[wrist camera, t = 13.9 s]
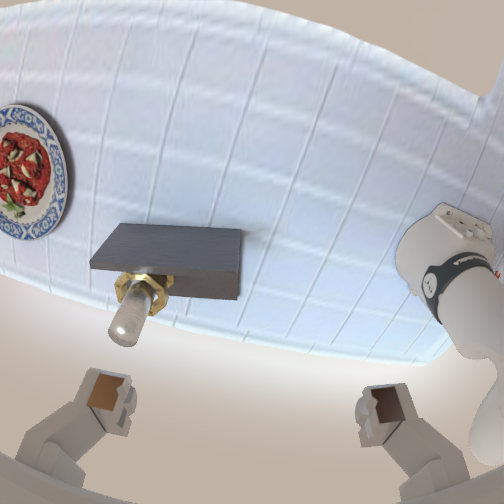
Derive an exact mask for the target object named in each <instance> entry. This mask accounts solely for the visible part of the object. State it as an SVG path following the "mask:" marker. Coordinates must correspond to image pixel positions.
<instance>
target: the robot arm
mask: <svg viewBox="0 0 504 504" xmlns="http://www.w3.org/2000/svg"><path fill="white" fill-rule="evenodd" d="M447 212H448V213H447ZM491 239H492V229H491V227H490V226H489V225H488V224H487V223H485V222H483V221H481V220H479V219H477V218H475V217H473V216H471V215H469V214H467V213H465V212H462V211H460V210H458V209H456V208H454V207H452V206H449V205H447V204H445V203H441V204H439V205H438V206H437V207H436V208H435V209H434V210H433V211H432V213H431V214H430V215H428V216H426V217H425V218H423V219H421V220H419V221H418V222H416V223H415V224H414V225H412V226H411V227H410V228H409V229H408V231H407V232H406V233H405V234H404V236H403V237H402V239H401V241H400V243H399V245H398V248H397V252H396V258H395V263H396V268H397V271H398V273H399V275H400V276H401V277H402V278H403V279H404V280H405V281H406V282H407V283H408V287H409V290H410V292H411V293H412V294H413V295H414V296H418V297H419V298H420V300H421V301H422V302H423V303H424V304H425V306H426V307H427V308H428V309H429V310H430V311H431V312H432V315H433V316H434V318H435V319H436V320H437V321H438V322H439V323H440V324H441V325H443V326H444V328H445V329H446V331H447V333H448V334H449V336H450V338H451V340H452V341H453V343H454V345H455V346H456V348H457V350H458V351H459V353H460V354H461V355H462V356H464V357H466V358H469V359H485V358H489V359H490V360H491V361H492V362H493V363H494V365H495V366H496V369H497V374H498V377H497V380H496V382H495V383H494V385H493V386H492V388H491V389H490V391H489V392H488V394H487V396H486V397H485V398H484V400H483V401H482V403H481V404H480V406H479V408H478V411H477V413H476V415H475V418H474V420H473V423H472V426H471V429H470V432H469V446H470V450H471V452H472V453H473V455H474V457H475V458H476V459H477V460H479V461H480V462H481V463H483V464H486V465H490V466H494V465H495V466H496V465H501V464H504V285H503V284H502V283H501V282H500V281H499V277H500V274H499V275H498V277H497V274H498V271H496V273H495V275H494V273H493V270H492V268H493V265H494V261H495V256H496V249H495V246H494V244H493V243H492V242H491ZM131 382H132V380H131V377H130V376H129V375H125V374H120V373H115V372H110V371H105V370H101V369H96V368H90V369H89V370H88V371H87V372H86V374H85V377H84V379H83V381H82V383H81V385H80V388H79V390H78V392H77V394H76V397H75V399H74V401H73V402H69V403H67V404H65V405H64V406H63V407H61V408H60V409H58V410H57V411H55V412H54V413H52V414H51V415H49V416H48V417H47V418H45V419H44V420H42V421H41V422H40V423H38V424H36V425H35V426H34V427H32V428H31V429H29V430H28V431H26V434H25V436H24V438H23V440H22V443H21V445H20V448H19V450H18V452H17V455H16V457H15V459H13V458H11V457H9V456H7V455H5V454H3V453H1V452H0V504H135V503H131V502H127V501H123V500H119V499H115V498H112V497H108V496H105V495H102V494H99V493H95V492H92V491H89V490H86V489H83V488H82V486H83V482H84V478H85V475H86V474H85V472H84V471H83V470H82V469H81V468H80V467H79V466H78V465H77V464H76V462H77V461H78V460H79V459H80V458H81V457H82V456H83V455H84V454H85V453H86V452H87V451H88V450H89V449H91V448H92V447H93V446H94V445H95V444H96V443H97V442H98V441H99V440H100V439H101V438H102V437H103V436H104V435H105V434H106V433H111V434H116V435H121V436H126V437H127V436H128V432H129V429H130V426H131V420H130V418H129V416H130V415H131V414H132V413H134V411H135V408H136V403H137V394H136V390H135V388H134V387H132V386H131ZM362 393H363V397H361V398H360V399H359V400H358V401H357V404H356V408H355V417H356V422H357V423H358V424H359V425H360V426H361V429H360V431H359V437H360V442H361V446H362V447H371V446H380V445H383V448H384V449H385V450H386V451H387V452H388V453H389V455H390V456H391V457H392V458H393V459H394V460H395V461H396V463H397V464H398V465H399V466H400V467H401V468H402V469H403V470H404V472H405V473H406V474H407V475H408V476H409V477H410V479H408V480H407V481H406V482H404V483H403V484H402V485H401V486H400V487H399V491H400V496H401V502H399V503H395V504H504V465H502V466H500V467H498V468H495V469H493V470H491V471H489V472H487V473H484V474H482V475H480V476H477V477H476V478H473V479H470V476H469V472H468V469H467V466H466V463H465V460H464V457H463V454H462V451H461V450H459V449H458V448H457V447H456V446H454V445H453V444H452V443H451V442H450V441H449V440H447V439H446V438H445V437H444V436H443V435H442V434H440V433H439V432H438V431H437V430H436V429H434V428H433V427H432V426H431V425H430V424H428V423H427V422H426V421H425V420H424V419H423V418H418V415H417V413H416V409H415V407H414V404H413V401H412V398H411V395H410V393H409V390H408V387H407V385H406V384H405V383H399V384H386V385H377V386H367V387H365V388H364V390H363V392H362Z"/></svg>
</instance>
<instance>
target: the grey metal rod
mask: <svg viewBox="0 0 504 504" xmlns="http://www.w3.org/2000/svg"><path fill="white" fill-rule="evenodd" d="M161 276H162V277H164V275H161ZM156 292H157V290H156V289H155V288H153V287H152V286H151V285H150V284H149V283H148V282H146V281H145V280H138V279H134V280H133V281H132V283H131V285H130V287H129V289H128V291H127V293H126V295H125V297H124V299H123V301H122V303H121V305H120V307H119V309H118V311H117V313H116V315H115V317H114V319H113V321H112V323H111V325H110V327H109V329H108V334H109V336H110V338H111V339H112V340H113V341H114V342H115V343H117V344H118V345H121V346H124V347H132V346H134V345H135V344H136V343H137V341H138V338H139V335H140V332H141V330H142V327H143V325H144V322H145V320H146V317H147V315H148V312H149V310H150V307H151V305H152V302H153V300H154V297H155V295H156Z"/></svg>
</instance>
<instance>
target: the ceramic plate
mask: <svg viewBox="0 0 504 504" xmlns="http://www.w3.org/2000/svg"><path fill="white" fill-rule="evenodd" d="M67 189H68V178H67V168H66V163H65V158H64V154H63V151H62V148H61V145H60V143H59V141H58V138H57V136H56V134H55V133H54V131H53V129H52V128H51V127H50V125H49V124H48V122H47V121H46V120H45V119H44V118H43V117H42V116H41V115H40V114H38V113H37V112H36V111H34V110H33V109H31V108H28V107H26V106H22V105H7V106H4V107H1V108H0V230H1V231H2V232H3V233H5V234H6V235H8V236H10V237H12V238H15V239H18V240H21V241H34V240H38V239H40V238H43V237H44V236H46V235H47V234H49V233H50V232H51V231H52V230H53V229H54V228H55V226H56V225H57V223H58V222H59V220H60V218H61V216H62V214H63V211H64V208H65V204H66V198H67Z"/></svg>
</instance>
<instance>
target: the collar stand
mask: <svg viewBox="0 0 504 504" xmlns="http://www.w3.org/2000/svg"><path fill="white" fill-rule="evenodd" d="M240 237H241V229H226V228H208V227H189V226H168V225H146V224H121V223H120V224H119V225H118V226H117V228H116V229H115V230H114V231H113V232H112V234H111V235H110V236H109V237H108V238H107V240H106V241H105V242H104V243H103V244H102V246H101V247H100V248H99V249H98V251H97V252H96V253H95V254H94V256H93V257H92V258H91V260H90V261H89V262H90V267H91V269H99V270H110V271H122V272H123V273H122V274H121V275H120V276H119V277H118V279H117V280H116V282H115V284H114V285H115V290H116V294H117V299H118V302H120V303H122V301H123V299H124V297H125V295H126V293H127V290H128V289H129V287H130V285H131V283H132V281H133V280H134V279H138V280H145V281H146V282H148V283H149V284H150V285H151V286H152V287H153V288H155V289H156V290H157V292H156V294H158V299H157V300H155V301H154V302H153V303H152V305H151V307H150V310H149V312H148V315H147V316H154V315H155V314H156V313H158V312H159V311H160V310H162V309H163V308H164V307H165V306H166V304H167V301H168V298H169V297H168V295H169V296H182V297H195V298H208V299H223V300H237V296H238V275H239V256H240ZM161 275H164V277H162V276H161ZM126 285H127V286H126Z"/></svg>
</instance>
